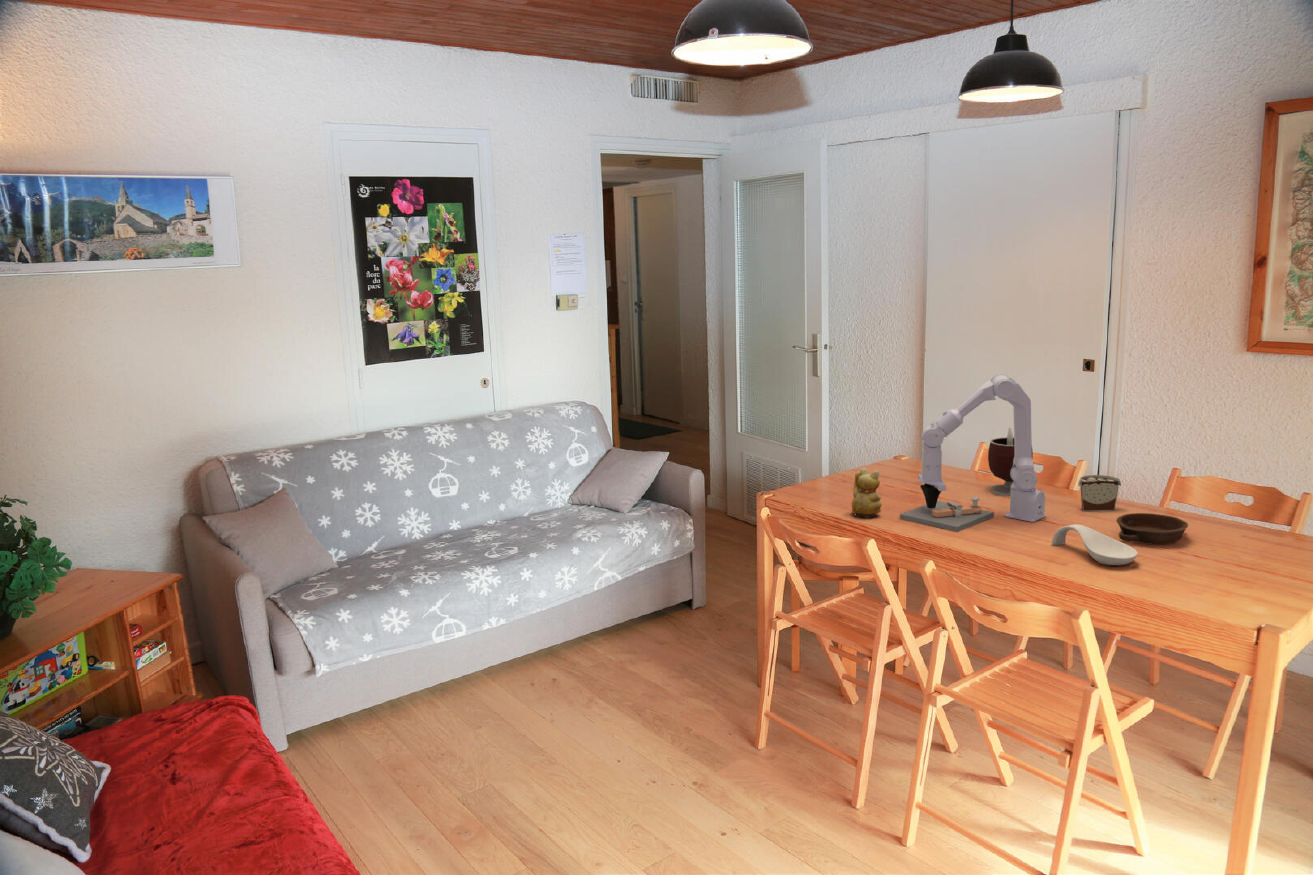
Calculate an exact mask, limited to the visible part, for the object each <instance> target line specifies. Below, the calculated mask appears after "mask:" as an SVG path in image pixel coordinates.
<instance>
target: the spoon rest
mask: <svg viewBox="0 0 1313 875" xmlns="http://www.w3.org/2000/svg"><path fill="white" fill-rule="evenodd" d="M1069 531H1075V532H1077V533H1078V534H1079V536H1080V538H1081V541H1082V542H1083V544H1084V545H1083V546H1084V547H1085V548H1086V551H1087V552H1088V554H1089V555H1090V556H1091V557H1092V559H1093V560H1094V561H1098V562H1097V563H1099V564H1101V563H1102V565H1104V564H1106V565H1105V566H1110V565H1118V566H1123V565H1124V566H1125V565H1127V564H1129V563H1131V562H1133V561H1134V560H1135V559H1136V558H1137V557H1138V555H1139V553H1138V551H1137V550H1136V549H1135V548H1134V547H1132V546H1130V545H1128V544H1126V543H1123V542H1121V541H1119V540H1116V539H1114V538H1112V537H1110V536H1107V535H1105V534H1103V533H1102V532H1099V531H1097V530H1095V529H1092V528H1090V527H1088V526H1086V525H1082V524H1070V525H1065V526H1062V527H1060V528H1058V529H1057V530H1056V532H1054V534H1053V536H1052V539H1051V546H1060V545H1063V544H1065V543H1066V539H1067V534H1068V532H1069Z"/></svg>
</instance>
